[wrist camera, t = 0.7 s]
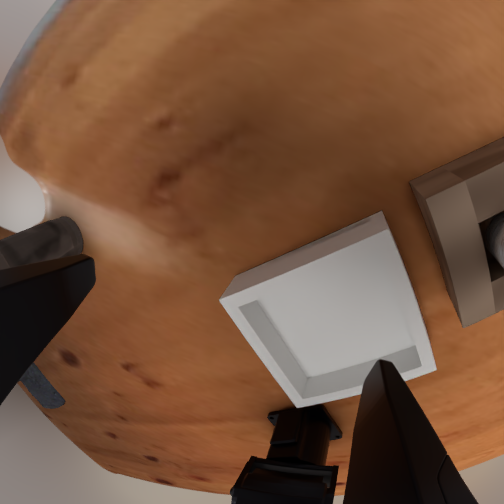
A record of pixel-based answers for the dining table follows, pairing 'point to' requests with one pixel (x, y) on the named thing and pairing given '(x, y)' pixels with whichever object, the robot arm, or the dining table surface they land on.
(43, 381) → the grey stepped plate
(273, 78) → the dining table surface
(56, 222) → the beverage cup
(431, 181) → the block
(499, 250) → the lock pin
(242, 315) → the tray
